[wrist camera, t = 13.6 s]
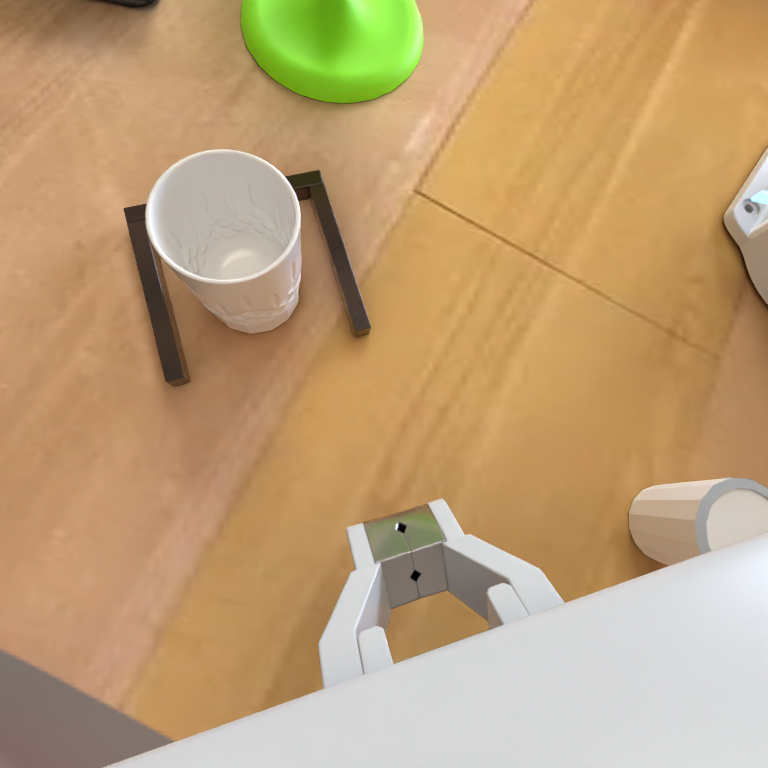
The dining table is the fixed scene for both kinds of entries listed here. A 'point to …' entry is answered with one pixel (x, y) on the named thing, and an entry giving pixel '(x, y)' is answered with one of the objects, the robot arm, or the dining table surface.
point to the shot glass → (696, 517)
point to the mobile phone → (134, 2)
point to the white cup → (230, 236)
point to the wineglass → (334, 45)
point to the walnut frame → (159, 298)
